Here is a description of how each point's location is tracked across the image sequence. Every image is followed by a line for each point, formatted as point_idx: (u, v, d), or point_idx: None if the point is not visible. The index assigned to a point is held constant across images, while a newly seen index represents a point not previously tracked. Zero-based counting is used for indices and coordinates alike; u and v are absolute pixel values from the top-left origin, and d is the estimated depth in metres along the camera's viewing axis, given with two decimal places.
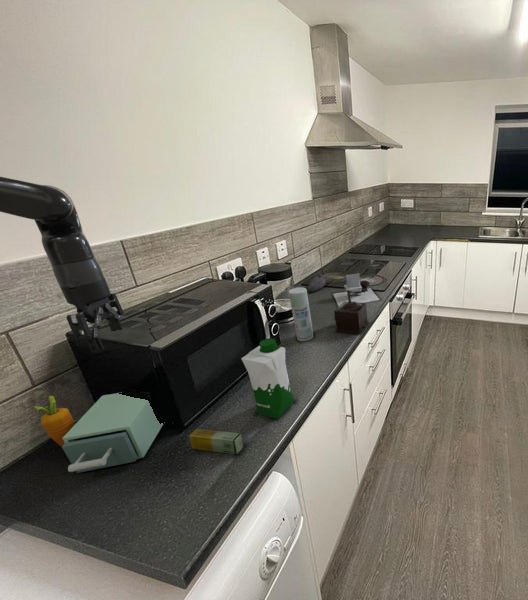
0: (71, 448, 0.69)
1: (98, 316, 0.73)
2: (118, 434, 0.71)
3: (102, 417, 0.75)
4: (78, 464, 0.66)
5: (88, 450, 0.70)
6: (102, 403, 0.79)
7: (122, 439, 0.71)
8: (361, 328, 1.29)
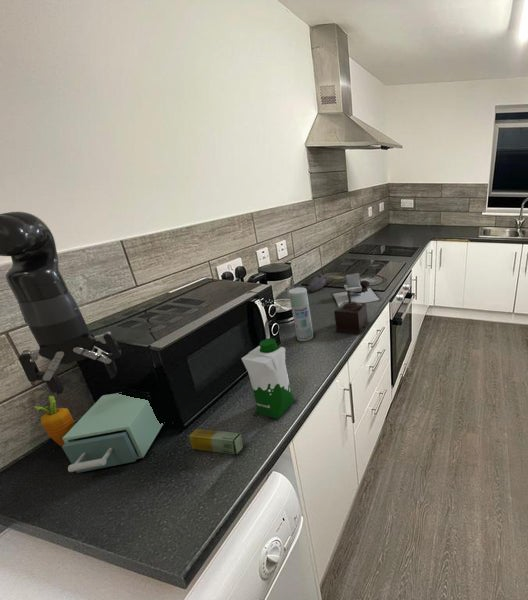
0: (71, 448, 0.69)
1: (54, 360, 0.64)
2: (118, 434, 0.71)
3: (102, 417, 0.75)
4: (78, 464, 0.66)
5: (88, 450, 0.70)
6: (102, 403, 0.79)
7: (122, 439, 0.71)
8: (361, 328, 1.29)
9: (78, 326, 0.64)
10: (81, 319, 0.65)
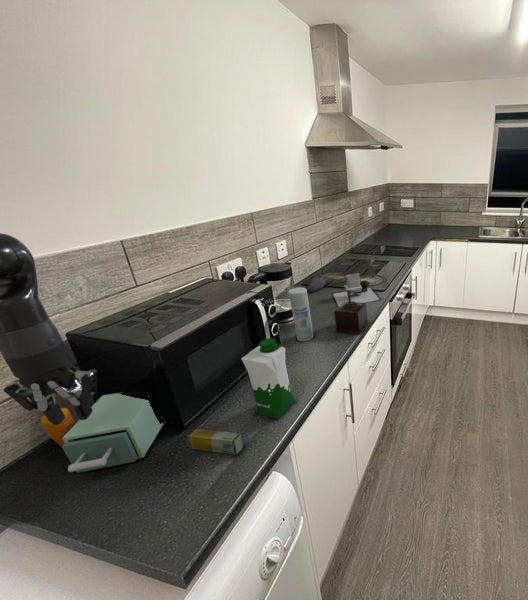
0: (71, 448, 0.69)
1: (35, 392, 0.60)
2: (118, 434, 0.71)
3: (102, 417, 0.75)
4: (78, 464, 0.66)
5: (88, 450, 0.70)
6: (102, 403, 0.79)
7: (122, 439, 0.71)
8: (361, 328, 1.29)
9: (49, 360, 0.58)
10: (56, 352, 0.59)
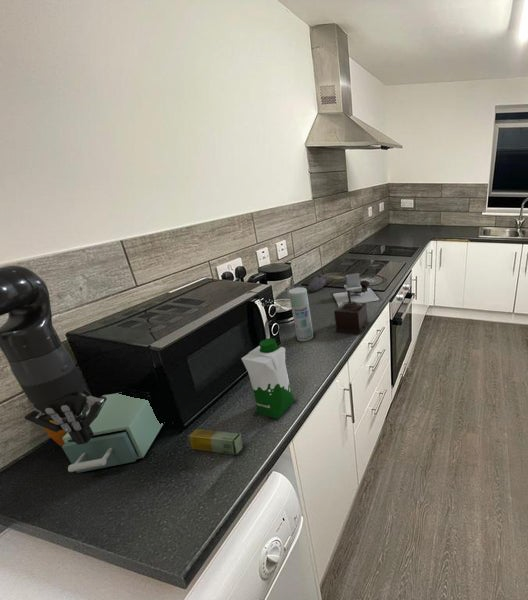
0: (71, 448, 0.69)
1: (52, 416, 0.62)
2: (118, 434, 0.71)
3: (102, 417, 0.75)
4: (78, 464, 0.66)
5: (88, 450, 0.70)
6: None
7: (122, 439, 0.71)
8: (361, 328, 1.29)
9: (63, 386, 0.60)
10: (69, 377, 0.61)
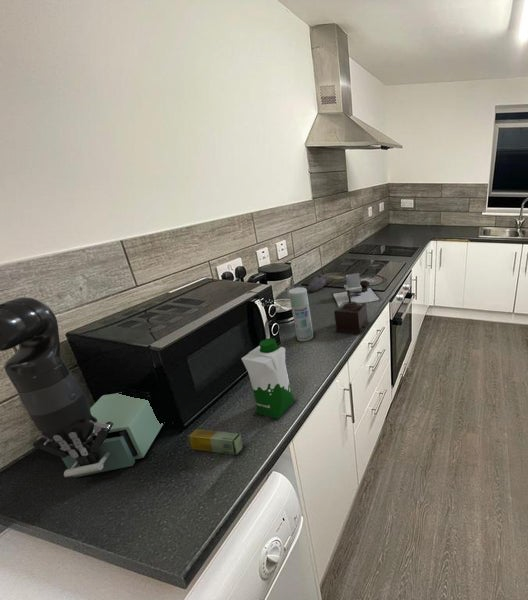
0: None
1: (60, 442, 0.63)
2: (115, 438, 0.70)
3: (102, 417, 0.75)
4: (74, 469, 0.65)
5: None
6: (102, 403, 0.79)
7: (119, 443, 0.70)
8: (361, 328, 1.29)
9: (71, 414, 0.61)
10: (77, 405, 0.62)
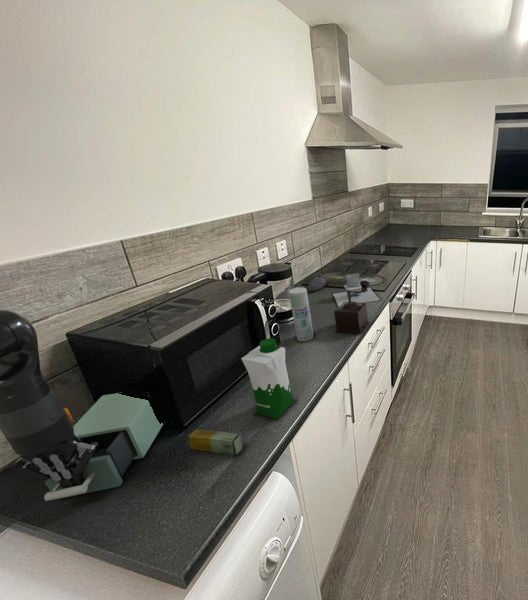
0: None
1: (40, 465, 0.58)
2: (101, 457, 0.65)
3: (102, 417, 0.75)
4: (56, 492, 0.61)
5: None
6: (102, 403, 0.79)
7: (105, 463, 0.65)
8: (361, 328, 1.29)
9: (51, 436, 0.56)
10: (59, 426, 0.57)
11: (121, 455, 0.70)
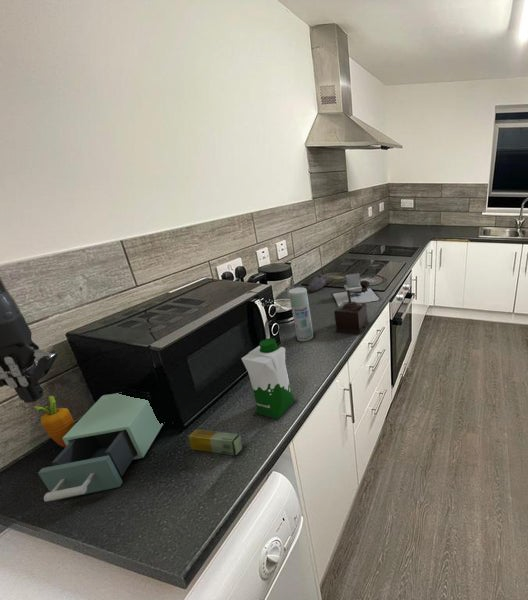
0: (49, 474, 0.63)
1: None
2: (100, 458, 0.65)
3: (102, 417, 0.75)
4: (55, 493, 0.60)
5: (67, 476, 0.64)
6: (102, 403, 0.79)
7: (105, 463, 0.65)
8: (361, 328, 1.29)
9: (5, 335, 0.55)
10: (14, 326, 0.56)
11: (120, 456, 0.70)
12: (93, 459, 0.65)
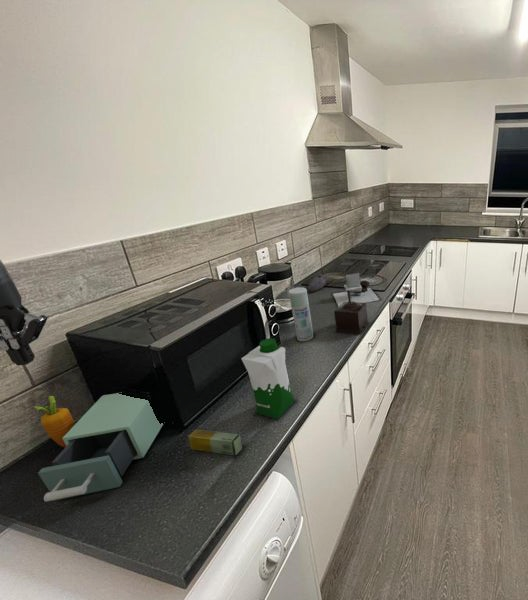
0: (49, 474, 0.63)
1: None
2: (100, 458, 0.65)
3: (102, 417, 0.75)
4: (55, 493, 0.60)
5: (67, 476, 0.64)
6: (102, 403, 0.79)
7: (105, 463, 0.65)
8: (361, 328, 1.29)
9: None
10: (4, 289, 0.59)
11: (120, 456, 0.70)
12: (93, 459, 0.65)
